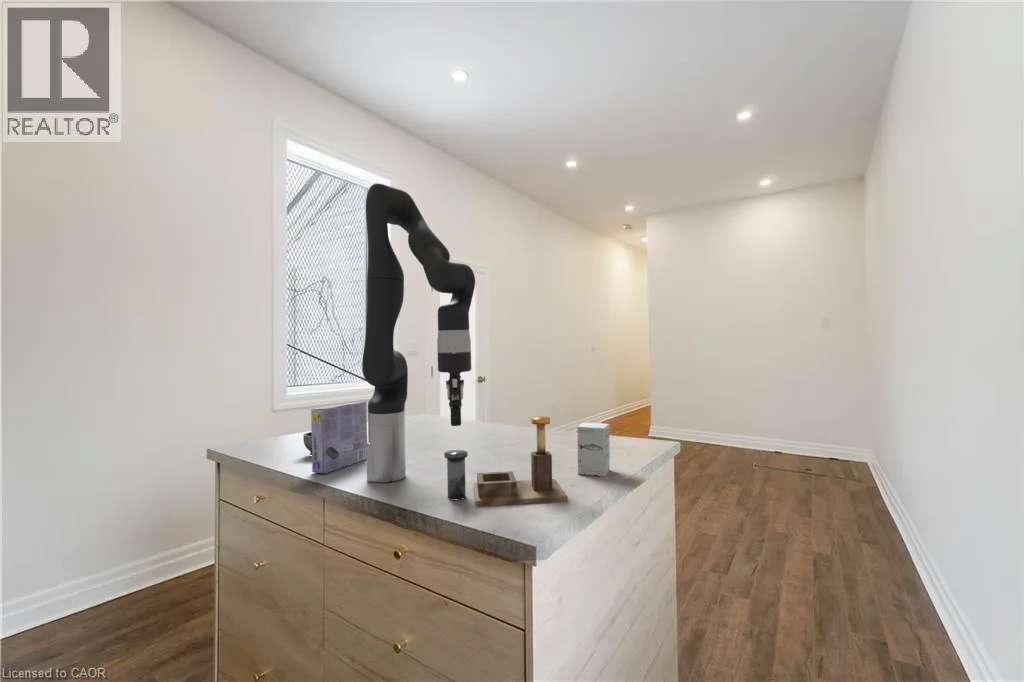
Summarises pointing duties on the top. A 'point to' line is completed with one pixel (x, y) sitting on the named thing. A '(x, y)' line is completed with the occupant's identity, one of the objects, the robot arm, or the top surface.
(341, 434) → the cake pan box
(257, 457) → the top surface
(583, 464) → the supplement box
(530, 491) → the dock mount
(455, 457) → the spigot
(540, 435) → the lock pin
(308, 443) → the mortar and pestle
